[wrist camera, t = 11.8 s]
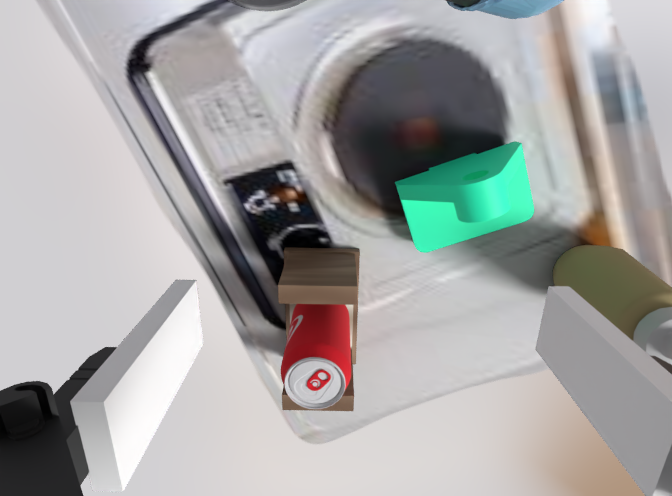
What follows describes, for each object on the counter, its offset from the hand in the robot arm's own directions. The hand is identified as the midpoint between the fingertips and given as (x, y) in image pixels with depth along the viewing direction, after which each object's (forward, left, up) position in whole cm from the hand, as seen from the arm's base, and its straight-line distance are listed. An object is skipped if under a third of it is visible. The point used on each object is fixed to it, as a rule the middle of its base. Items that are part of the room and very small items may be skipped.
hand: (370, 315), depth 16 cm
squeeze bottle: (+10, +25, -29) cm, 39 cm away
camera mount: (+2, +11, -29) cm, 31 cm away
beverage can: (+15, -3, -28) cm, 32 cm away
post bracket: (+15, -3, -29) cm, 33 cm away
